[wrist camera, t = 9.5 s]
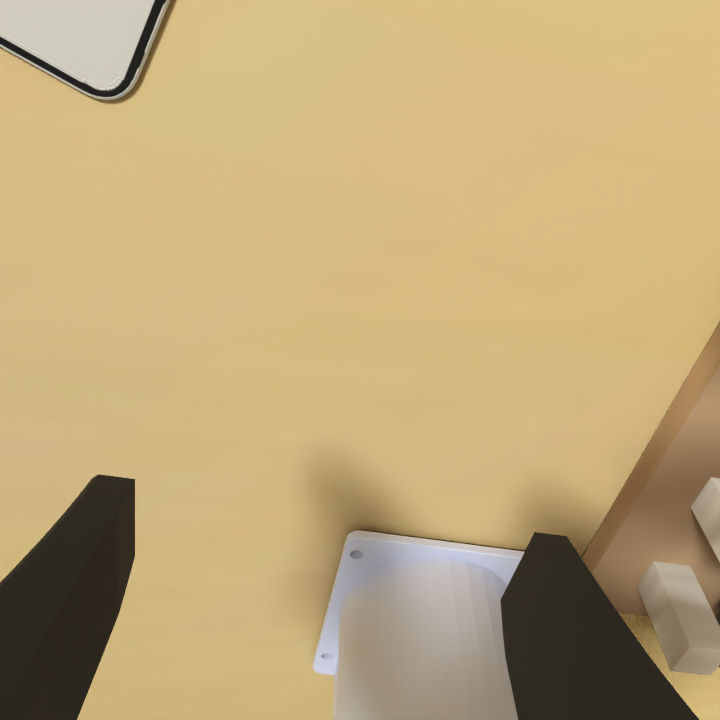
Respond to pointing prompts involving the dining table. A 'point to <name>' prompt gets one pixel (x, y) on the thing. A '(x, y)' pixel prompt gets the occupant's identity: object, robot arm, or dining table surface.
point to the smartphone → (84, 40)
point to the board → (672, 527)
